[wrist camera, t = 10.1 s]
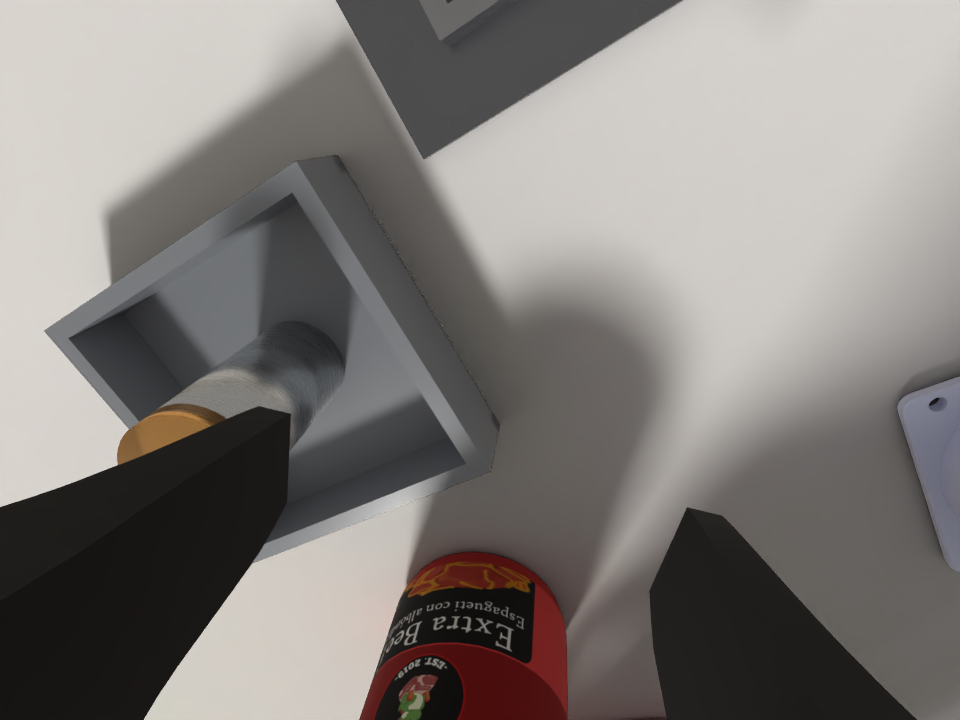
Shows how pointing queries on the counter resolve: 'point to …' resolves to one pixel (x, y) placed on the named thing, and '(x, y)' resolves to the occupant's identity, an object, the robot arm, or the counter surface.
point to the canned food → (473, 646)
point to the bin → (312, 300)
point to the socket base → (481, 53)
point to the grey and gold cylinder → (249, 388)
